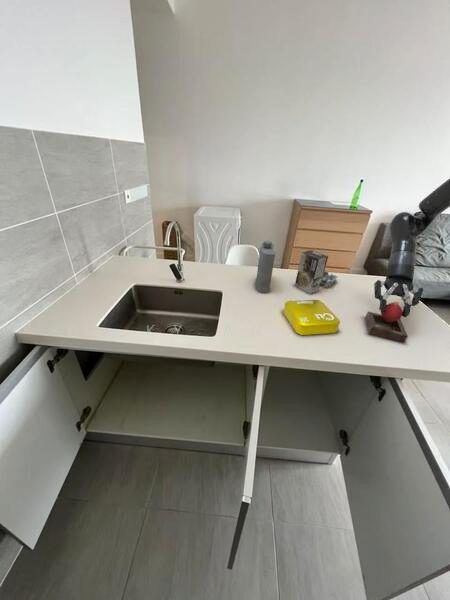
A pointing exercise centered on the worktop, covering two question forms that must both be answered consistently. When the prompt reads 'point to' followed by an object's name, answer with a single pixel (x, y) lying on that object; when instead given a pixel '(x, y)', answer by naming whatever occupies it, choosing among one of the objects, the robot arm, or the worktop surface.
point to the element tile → (310, 317)
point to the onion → (392, 312)
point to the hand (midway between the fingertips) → (393, 313)
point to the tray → (376, 331)
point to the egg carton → (328, 279)
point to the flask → (265, 266)
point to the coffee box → (311, 271)
